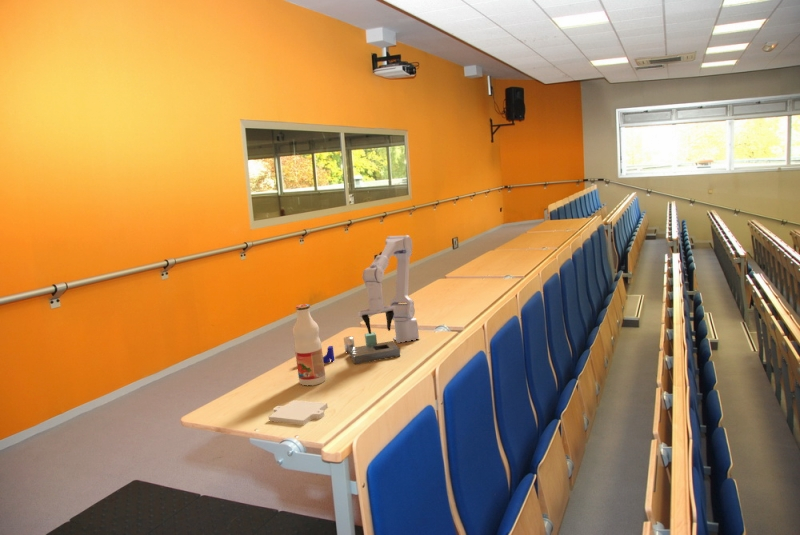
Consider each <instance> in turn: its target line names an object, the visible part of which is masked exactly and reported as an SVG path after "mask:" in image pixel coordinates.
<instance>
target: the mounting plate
mask: <svg viewBox="0 0 800 535" xmlns="http://www.w3.org/2000/svg"><path fill="white" fill-rule="evenodd" d="M328 408H329V406H328V402H318V401H317V402H316V401H307V400H306V401H305V400H296V399H293V400H291V401H290V402H288V403H287V404H285V405H276V406H275V407H273V408H272V409H273V413H271V414H270V415H269V416H268V421H269V420H270V421H269V422H272V421H274V423H283V424H291V425H297V426H298V425H300V426H305V425H307V424H308V423H309V422H311V421H312V420H314V419H317V420H320V419H323V418H324V417H325V410H327V409H328Z"/></svg>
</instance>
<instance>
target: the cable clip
mask: <svg viewBox="0 0 800 535" xmlns="http://www.w3.org/2000/svg"><path fill="white" fill-rule="evenodd" d="M326 349H327V352H326V354H325V355H323V361H324V364H329V363H328V362H330V360H331V362H333V361H334V362H335V353H334V346H333V345H329V346H328V347H327V348H326ZM334 362H333V363H334Z"/></svg>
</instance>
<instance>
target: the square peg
mask: <svg viewBox="0 0 800 535" xmlns="http://www.w3.org/2000/svg"><path fill="white" fill-rule="evenodd" d="M364 340H365V346H366V345H372V344H378V341H377V334H376V332H375V331H374V332H371V334H369V332H368V333H364Z"/></svg>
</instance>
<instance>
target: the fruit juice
mask: <svg viewBox="0 0 800 535" xmlns="http://www.w3.org/2000/svg"><path fill="white" fill-rule="evenodd" d="M310 309H311V307H310V304H308V303H303V304H297V305H296V306H295V311H296V313H297V315H296V321H295V323H294V325H293V327H292V335H293V337H294V339H295V341H294V353H295V362H296V367H297V368H296V369H297V374H298V381H299V383H300V385H301V384H302V385H301V386H304V385H307V386H306V387H309V386H308V385H312V386H317V385H320V384H322V383H324V382H325V381H326V371H325V369H326V368H325V363H324V361H323V357H324V354H323V348H322V347H323V346H322V342H321V339H320V336H319V334H320V333H319V332H320V327H319V325H318V323H317V322H316V321H315V320H314V319H313V317H312V315H311V312H310Z"/></svg>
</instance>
